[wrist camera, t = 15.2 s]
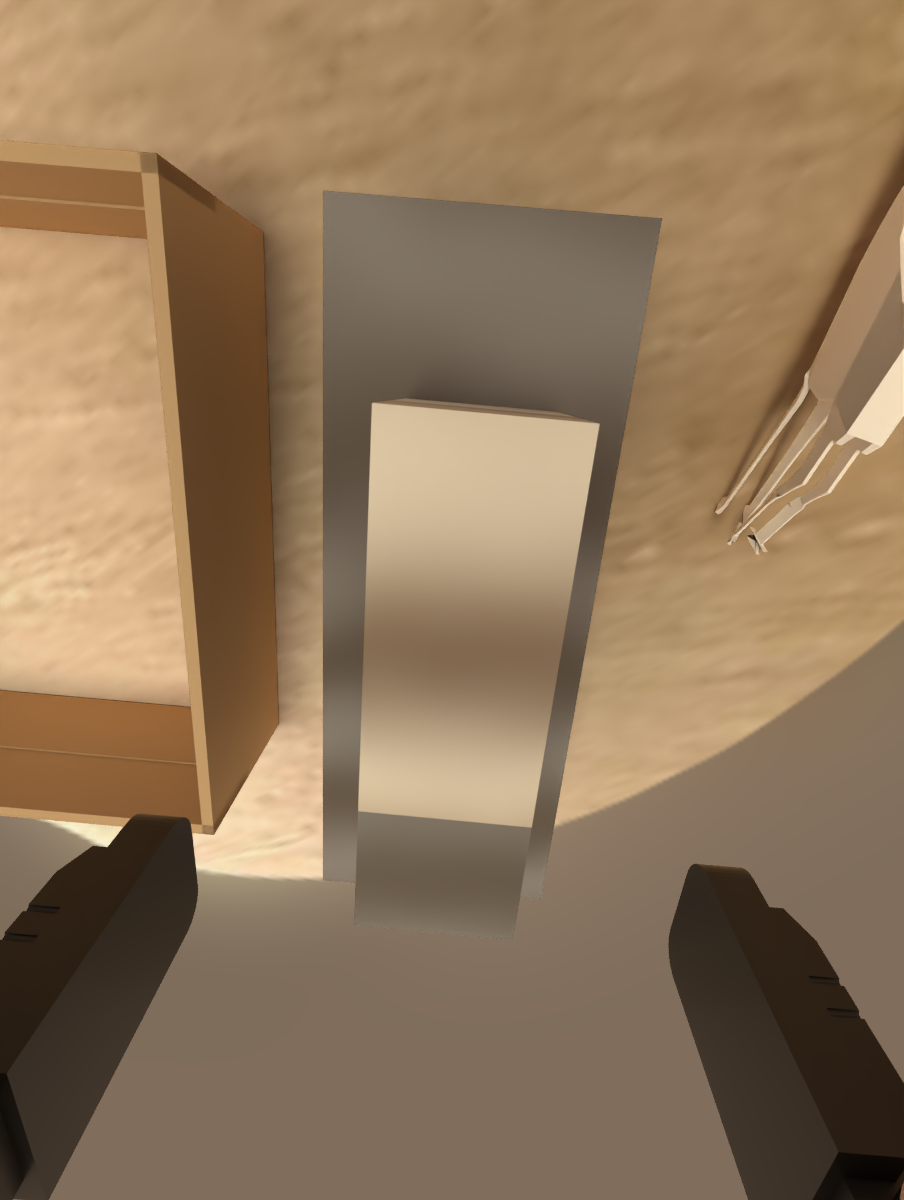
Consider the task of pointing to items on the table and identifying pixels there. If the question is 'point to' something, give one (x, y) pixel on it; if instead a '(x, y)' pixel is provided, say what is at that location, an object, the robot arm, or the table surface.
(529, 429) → the block
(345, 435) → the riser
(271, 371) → the table surface
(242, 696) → the carton
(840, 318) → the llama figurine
